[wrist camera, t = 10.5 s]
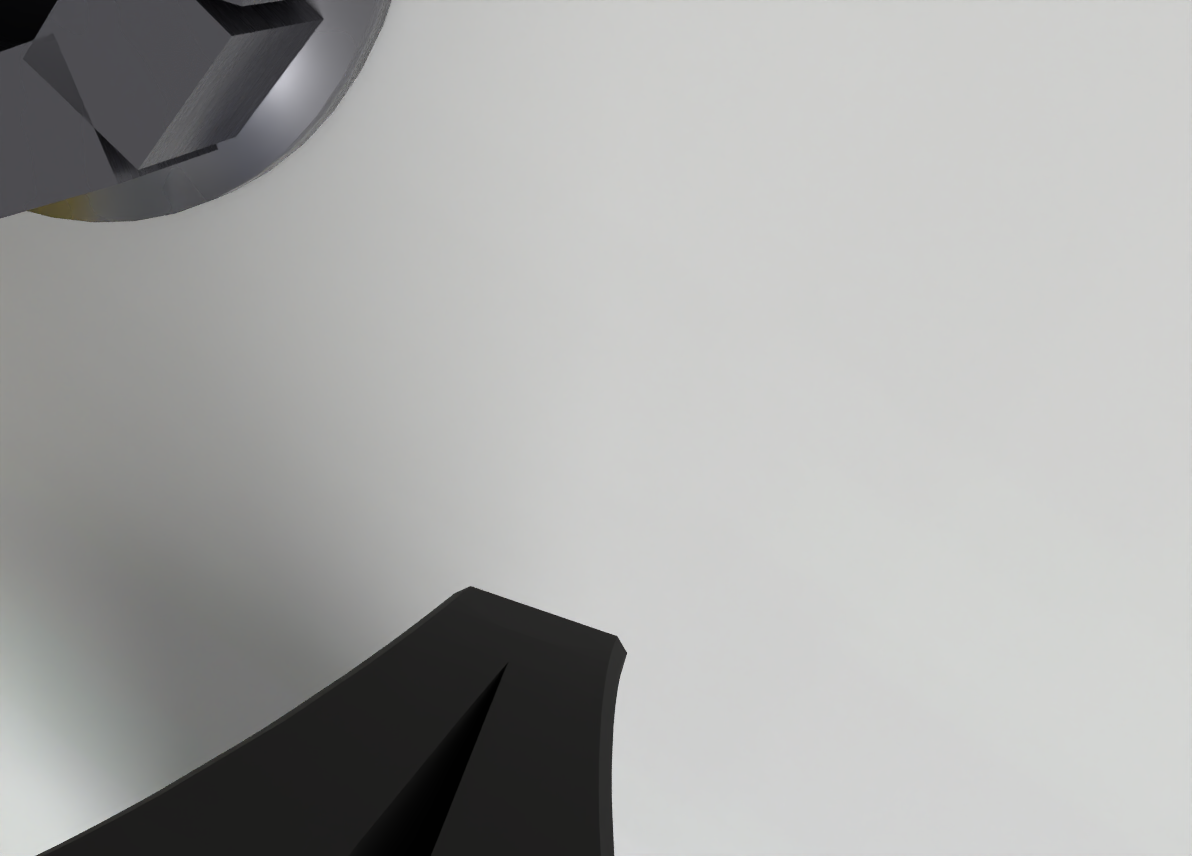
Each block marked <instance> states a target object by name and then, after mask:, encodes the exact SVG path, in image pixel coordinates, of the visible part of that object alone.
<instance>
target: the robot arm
mask: <svg viewBox="0 0 1192 856" xmlns="http://www.w3.org/2000/svg"><path fill="white" fill-rule="evenodd" d="M626 655H627V652H626V650H625V649H624V647H623V645H622V644H621V642H620V640H619V638H618V637H617V636H615V635H612V634H609V633H606V632H603V631H600V630H597V629H594V628H591V627H589V626H586V625H583V624H580V623H577V622H574V621H571V620H568V619H565V618H562V617H559V616H556V615H553V614H550V613H548V612H545V611H542V610H539V609H536V608H533V607H530V606H527V605H524V604H521V603H518V602H515V601H512V600H509V599H507V598H504V597H501V596H498V595H495V594H492V593H489V592H486V591H483V590H480V589H477V588H474V587H471V586H470V587H468V588H466V589H463V590H461V591H459V592H457V593H454V594H453V595H452V596H451V597H449V598H448V599H447V600H446V601H444V602H443V603H442V604H441V605H439V606H438V607H437V608H435V609H434V610H433V611H432V612H430V613H429V614H428V615H426V616H425V617H424V618H422V619H421V620H420V621H418V622H417V623H416V624H415V625H413V626H412V627H411V628H409V629H408V630H407V631H405V632H404V633H403V634H401V635H400V636H399V637H397V638H396V639H394V640H393V641H392V642H390V643H389V644H388V645H386V646H385V647H383V648H382V649H381V650H379V651H378V652H376V653H375V654H374V655H372V656H371V657H369V658H368V659H367V660H365V661H364V662H362V663H361V664H360V665H358V666H357V667H355V668H354V669H353V670H351V671H350V672H348V673H347V674H345V675H344V676H342V677H341V678H339V679H338V680H336V681H335V682H333V683H332V684H330V685H329V686H327V687H326V688H324V689H323V690H321V691H320V692H318V693H317V694H315V695H314V696H312V697H311V698H309V699H308V700H306V701H305V702H303V703H302V704H300V705H299V706H297V707H296V708H294V709H293V710H291V711H290V712H288V713H287V714H285V715H284V716H282V717H281V718H279V719H278V720H276V721H275V722H273V723H272V724H270V725H268V726H267V727H265V728H264V729H262V730H261V731H259V732H257V733H256V734H254V735H253V736H251V737H249V738H248V739H246V740H244V741H243V742H241V743H239V744H238V745H236V746H234V747H232V748H231V749H229V750H227V751H226V752H224V753H222V754H221V755H219V756H217V757H215V758H214V759H212V760H210V761H209V762H207V763H205V764H204V765H202V766H200V767H199V768H197V769H195V770H193V771H192V772H190V773H188V774H187V775H185V776H183V777H182V778H180V779H178V780H177V781H175V782H173V783H171V784H170V785H168V786H166V787H165V788H163V789H161V790H160V791H158V792H156V793H154V794H153V795H151V796H149V797H147V798H145V799H144V800H142V801H140V802H138V803H136V804H135V805H133V806H131V807H129V808H127V809H125V810H123V811H122V812H120V813H118V814H116V815H114V816H112V817H110V818H109V819H107V820H105V821H103V822H101V823H99V824H97V825H96V826H94V827H92V828H90V829H88V830H86V831H84V832H82V833H80V834H78V835H76V836H74V837H72V838H70V839H69V840H67V841H65V842H63V843H61V844H59V845H57V846H55V847H53V848H51V849H49V850H47V851H45V852H42V853H40V854H38V855H36V856H614V842H613V818H612V746H613V725H614V714H615V704H616V697H617V690H618V684H619V679H620V675H621V672H622V668H623V665H624V662H625V658H626Z"/></svg>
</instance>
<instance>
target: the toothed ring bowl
mask: <svg viewBox="0 0 1192 856" xmlns="http://www.w3.org/2000/svg"><path fill="white" fill-rule="evenodd" d="M390 3H391V0H0V218H3V217H7V216H10V215H13V214H17V213H20V212H24V211H30V212H34V213H38V214H42V215H45V216H49V217H54V218H63V219H71V220H80V221H88V222H115V221H137V220H142V219H148V218H153V217H158V216H164V215H169V214H174V213H177V212H180V211H183V210H186V209H188V208H191V207H194V206H197V205H199V204H202V203H205V202H208V201H210V200H213V199H216V198H218V197H220V196H223V195H225V194H228V193H230V192H232V191H234V190H236V189H238V188H240V187H242V186H243V185H245V184H247V183H249V182H251V181H252V180H254V179H256V178H258V177H259V176H261V175H263V174H265V173H267V172H268V171H270V170H271V169H273V168H274V167H275V166H276V165H278V164H279V163H280V162H281V161H283V160H284V159H285V158H286V157H288V156H289V155H290V154H291V153H293V152H294V151H295V150H296V149H298V148H299V147H300V146H301V145H303V144H304V143H305V142H306V140H307V139H308V138H309V137H310V136H311V135H312V134H313V133H314V132H315V131H316V130H317V128H318V127H319V126H320V125H321V124H322V123H323V122H324V121H325V120H326V119H327V118H328V117H329V115H330V114H331V113H332V112H333V111H334V110H335V108H336V107H337V105H338V104H339V102H340V101H341V99H342V98H343V96H344V95H345V93H346V92H347V90H348V89H349V87H350V86H351V85H352V83H353V82H354V80H355V79H356V77H357V76H358V74H359V73H360V71H361V69H362V67H363V65H364V63H365V61H366V59H367V57H368V55H369V53H370V51H371V49H372V47H373V45H374V43H375V41H376V39H377V36H378V34H379V32H380V30H381V28H382V26H383V24H384V21H385V18H386V15H387V12H388V9H389V6H390Z"/></svg>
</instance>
